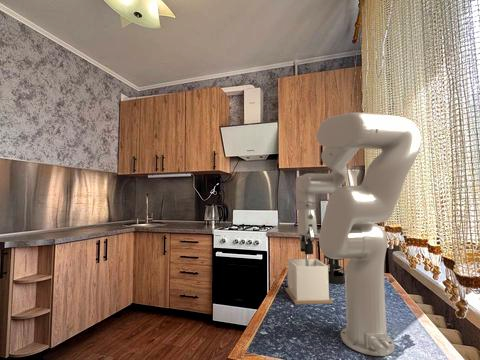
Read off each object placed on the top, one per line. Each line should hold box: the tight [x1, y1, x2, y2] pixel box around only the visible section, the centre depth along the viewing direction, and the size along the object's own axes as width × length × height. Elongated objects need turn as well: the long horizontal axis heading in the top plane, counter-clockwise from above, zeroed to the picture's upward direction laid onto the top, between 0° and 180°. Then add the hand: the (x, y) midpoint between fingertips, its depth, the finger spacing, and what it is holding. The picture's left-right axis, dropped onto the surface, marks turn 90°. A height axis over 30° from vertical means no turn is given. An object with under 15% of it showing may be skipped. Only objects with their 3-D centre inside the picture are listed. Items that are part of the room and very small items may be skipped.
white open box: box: [285, 258, 334, 305], centre depth 99 cm, size 14×14×13 cm
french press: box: [323, 254, 345, 285], centre depth 118 cm, size 12×9×23 cm
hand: (306, 252), depth 100 cm, fingers closed on plunger, 4 cm apart
